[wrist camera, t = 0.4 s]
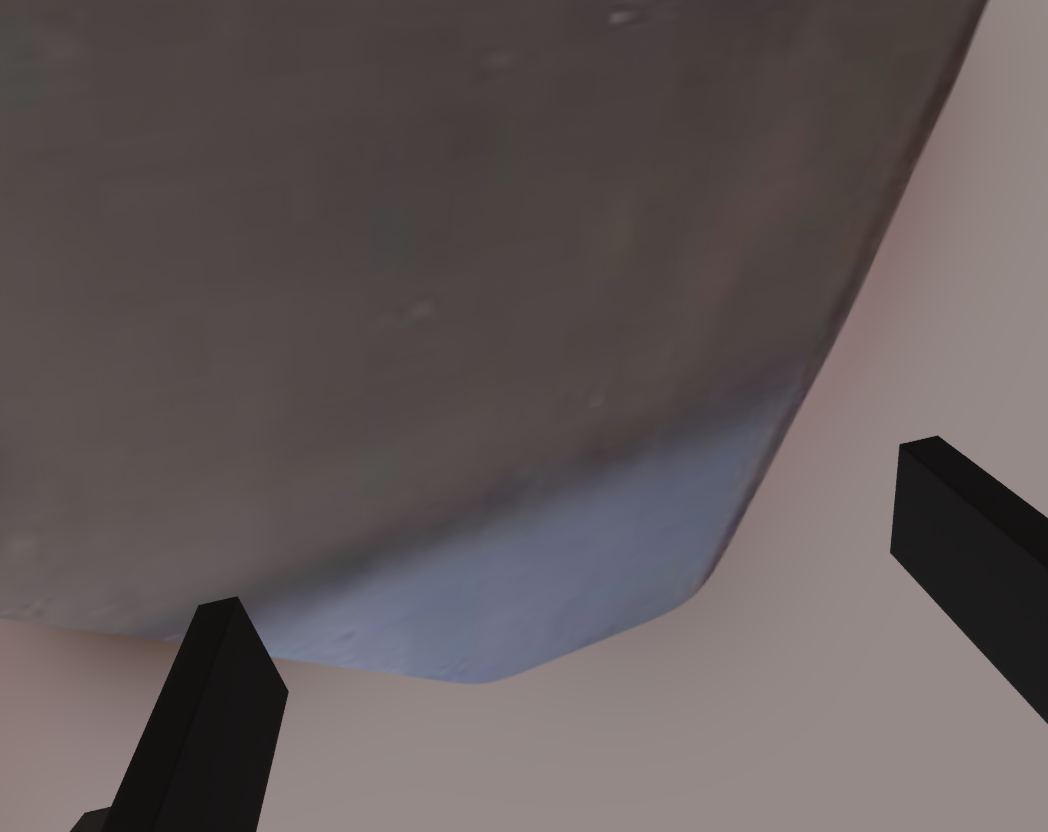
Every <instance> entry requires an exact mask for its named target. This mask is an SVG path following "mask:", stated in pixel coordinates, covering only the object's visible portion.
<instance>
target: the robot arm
mask: <svg viewBox="0 0 1048 832" xmlns="http://www.w3.org/2000/svg"><path fill="white" fill-rule="evenodd" d="M890 553H891V554H892V555H893V556H894V557H895V558H896V559H897V560H898V562H899V563H900V564H901V565H902V566H903V567H904V568H905V569H906V570H907V572H908V573H909V574H910V575H911V576H912V577H913V578H914V579H915V580H916V581H917V582H918V583H919V584H920V586H921V587H922V588H923V589H924V590H925V591H926V592H927V593H928V594H929V595H930V596H931V598H932V599H933V600H934V601H935V602H936V603H937V604H938V605H939V606H940V607H941V608H942V610H943V611H944V612H945V613H946V614H947V615H948V616H949V617H950V618H951V619H952V620H953V621H954V623H955V624H956V625H957V626H958V627H959V628H960V629H961V630H962V631H963V632H964V633H965V635H966V636H967V637H968V638H969V639H970V640H971V641H972V642H973V643H974V644H975V645H976V647H977V648H978V649H979V650H980V651H981V652H982V653H983V654H984V655H985V656H986V657H987V658H988V660H990V662H991V663H992V664H993V665H994V666H995V667H996V668H997V669H998V670H999V671H1000V673H1001V674H1002V675H1003V676H1004V677H1005V678H1006V679H1007V680H1008V681H1009V682H1010V683H1011V685H1012V686H1013V687H1014V688H1015V689H1016V690H1017V691H1018V692H1019V693H1020V694H1021V695H1022V696H1023V697H1024V699H1026V701H1027V702H1028V703H1029V704H1030V705H1031V706H1032V707H1033V708H1034V710H1035V711H1036V712H1037V713H1038V714H1039V715H1040V716H1041V717H1042V718H1043V719H1044V720H1045V722H1046V723H1047V724H1048V518H1047V517H1045V516H1044V515H1043V514H1042V513H1040V512H1039V511H1037V510H1036V509H1035V508H1034V507H1032V506H1031V505H1030V504H1028V503H1027V502H1026V501H1024V500H1023V499H1022V498H1020V497H1019V496H1017V495H1016V494H1015V493H1014V492H1012V491H1011V490H1010V489H1008V488H1007V487H1006V486H1004V485H1003V484H1002V483H1000V482H999V481H997V480H996V479H995V478H994V477H992V476H991V475H990V474H988V473H987V472H986V471H984V470H983V469H982V468H980V467H979V466H978V465H976V464H975V463H974V462H972V461H971V460H970V459H968V458H967V457H966V456H964V455H963V454H962V453H960V452H959V451H958V450H956V449H955V448H954V447H952V446H951V445H950V444H948V443H947V442H946V441H944V440H943V439H942V438H940V437H939V436H934V437H930V438H925V439H921V440H917V441H912V442H908V443H903V444H900V446H899V457H898V468H897V480H896V492H895V502H894V515H893V525H892V537H891V548H890ZM287 697H288V689H287V688H286V686H285V684H284V682H283V680H282V678H281V676H280V674H279V673H278V671H277V669H276V667H275V665H274V663H273V662H272V660H271V658H270V656H269V654H268V652H267V650H266V648H265V646H264V645H263V643H262V641H261V639H260V637H259V635H258V633H257V632H256V630H255V628H254V626H253V624H252V622H251V620H250V619H249V617H248V615H247V613H246V611H245V609H244V607H243V605H242V604H241V602H240V600H239V598H238V596H237V597H232V598H228V599H224V600H219V601H215V602H211V603H206V604H202V605H198V608H197V610H196V612H195V615H194V617H193V619H192V621H191V624H190V626H189V628H188V631H187V633H186V635H185V638H184V640H183V642H182V644H181V647H180V649H179V652H178V654H177V656H176V658H175V661H174V663H173V665H172V668H171V670H170V672H169V674H168V677H167V679H166V681H165V684H164V686H163V688H162V691H161V693H160V695H159V698H158V700H157V702H156V704H155V707H154V709H153V711H152V714H151V716H150V718H149V721H148V723H147V725H146V728H145V730H144V732H143V735H142V737H141V739H140V741H139V744H138V746H137V748H136V751H135V753H134V755H133V757H132V760H131V762H130V764H129V767H128V769H127V771H126V773H125V776H124V778H123V780H122V783H121V785H120V787H119V790H118V792H117V794H116V797H115V799H114V801H113V804H112V806H111V807H108V808H104V809H100V810H95V811H90V812H87V813H84V815H83V816H82V817H81V818H80V820H79V821H78V822H77V823H76V825H75V826H74V827H73V828H72V830H71V831H70V832H256V830H257V826H258V821H259V817H260V813H261V808H262V804H263V800H264V795H265V791H266V787H267V783H268V778H269V774H270V769H271V765H272V761H273V757H274V752H275V748H276V744H277V739H278V735H279V731H280V727H281V722H282V718H283V713H284V709H285V705H286V701H287Z"/></svg>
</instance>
